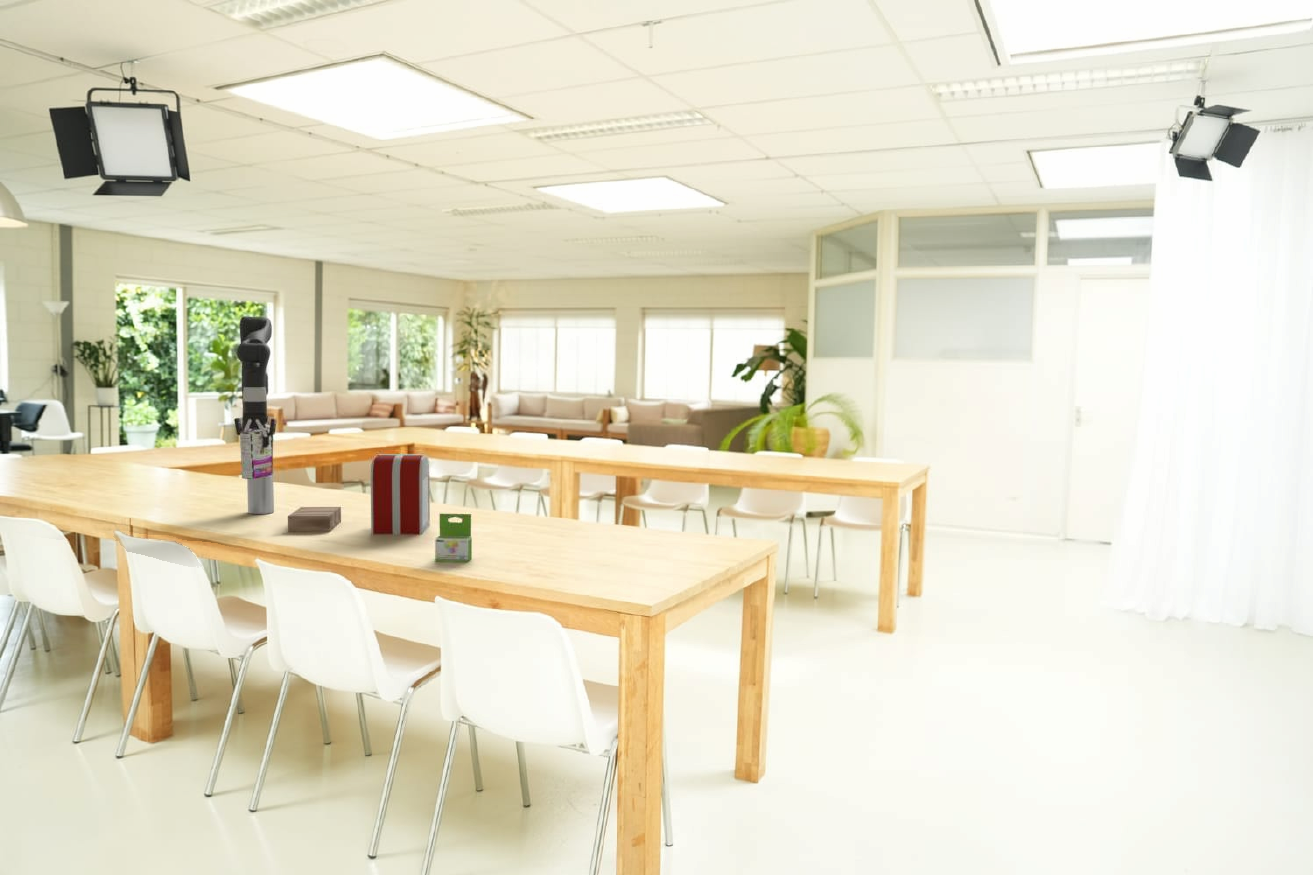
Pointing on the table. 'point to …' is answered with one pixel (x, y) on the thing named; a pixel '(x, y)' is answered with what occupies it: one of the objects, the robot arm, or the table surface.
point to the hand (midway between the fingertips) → (256, 447)
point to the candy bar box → (255, 455)
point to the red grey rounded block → (400, 494)
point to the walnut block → (314, 519)
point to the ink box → (454, 539)
